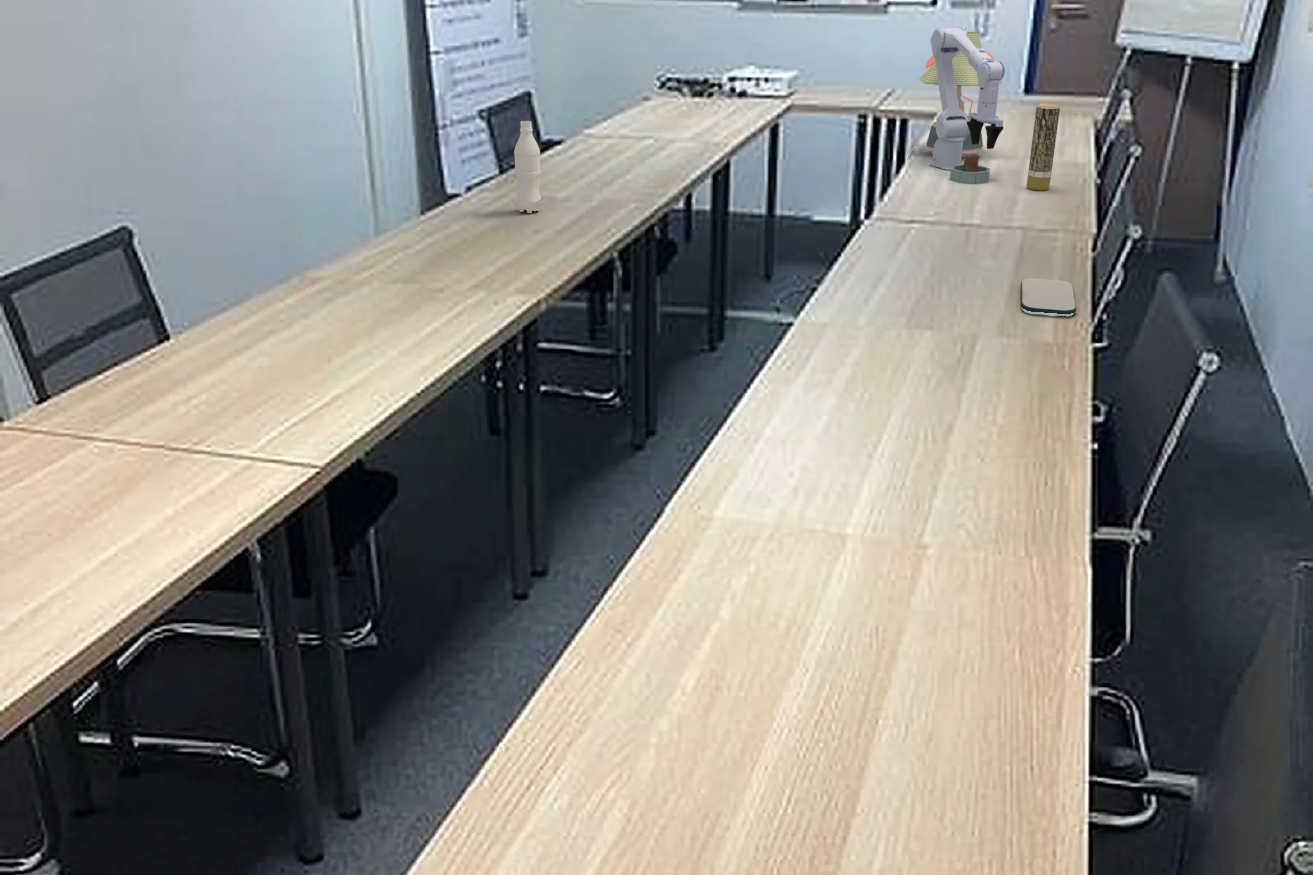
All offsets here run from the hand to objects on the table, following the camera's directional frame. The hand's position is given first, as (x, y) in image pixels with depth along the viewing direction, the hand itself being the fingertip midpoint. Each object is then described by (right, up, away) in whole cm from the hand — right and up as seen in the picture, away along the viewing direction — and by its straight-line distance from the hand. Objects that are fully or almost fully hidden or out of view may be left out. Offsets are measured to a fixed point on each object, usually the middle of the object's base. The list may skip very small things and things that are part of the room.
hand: (982, 146), depth 391 cm
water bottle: (-138, -28, -40) cm, 147 cm away
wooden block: (-4, -10, +1) cm, 11 cm away
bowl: (-4, -10, +1) cm, 11 cm away
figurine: (+7, +21, +72) cm, 76 cm away
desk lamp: (0, +5, +36) cm, 37 cm away
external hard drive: (-15, -62, -113) cm, 130 cm away
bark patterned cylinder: (+14, -16, -10) cm, 23 cm away
